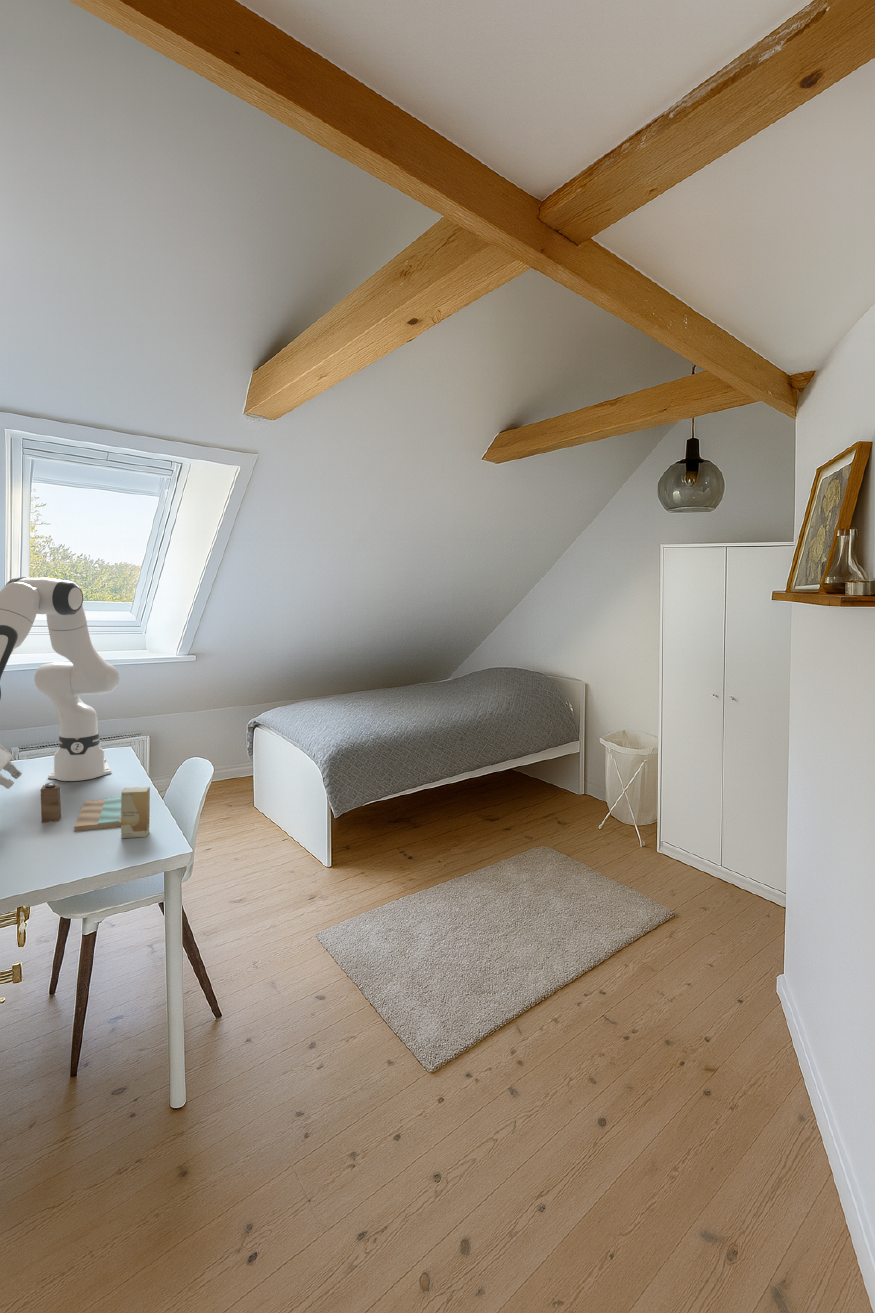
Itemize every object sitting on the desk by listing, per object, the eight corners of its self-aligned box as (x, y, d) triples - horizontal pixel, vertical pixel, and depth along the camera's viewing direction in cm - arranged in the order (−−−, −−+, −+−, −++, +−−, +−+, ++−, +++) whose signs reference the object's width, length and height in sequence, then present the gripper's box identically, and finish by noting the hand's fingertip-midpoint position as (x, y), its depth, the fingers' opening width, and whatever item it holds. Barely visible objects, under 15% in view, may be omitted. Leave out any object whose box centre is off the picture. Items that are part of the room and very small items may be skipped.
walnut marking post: (44, 817, 175) (43, 782, 174) (60, 816, 176) (59, 781, 176) (41, 822, 171) (40, 786, 170) (58, 820, 173) (57, 785, 172)
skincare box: (120, 839, 161) (119, 792, 160) (124, 832, 165) (123, 787, 164) (148, 837, 163) (147, 790, 162) (150, 831, 167) (150, 786, 166)
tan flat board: (84, 805, 186) (84, 800, 186) (140, 800, 192) (140, 795, 191) (74, 831, 166) (74, 825, 165) (137, 824, 171) (137, 819, 171)
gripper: (-32, 748, 156) (16, 783, 161) (-10, 731, 175) (32, 763, 180) (-53, 767, 155) (-4, 801, 159) (-29, 748, 174) (14, 779, 178)
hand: (15, 781), depth 170 cm, fingers open, 8 cm apart
